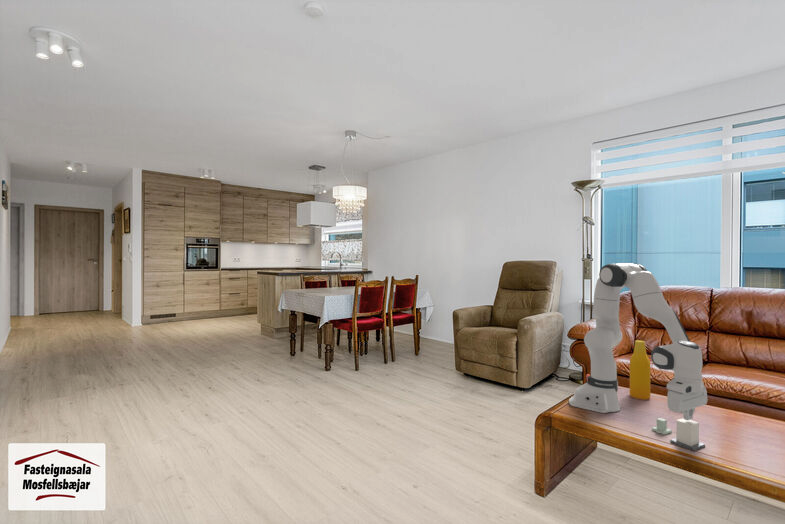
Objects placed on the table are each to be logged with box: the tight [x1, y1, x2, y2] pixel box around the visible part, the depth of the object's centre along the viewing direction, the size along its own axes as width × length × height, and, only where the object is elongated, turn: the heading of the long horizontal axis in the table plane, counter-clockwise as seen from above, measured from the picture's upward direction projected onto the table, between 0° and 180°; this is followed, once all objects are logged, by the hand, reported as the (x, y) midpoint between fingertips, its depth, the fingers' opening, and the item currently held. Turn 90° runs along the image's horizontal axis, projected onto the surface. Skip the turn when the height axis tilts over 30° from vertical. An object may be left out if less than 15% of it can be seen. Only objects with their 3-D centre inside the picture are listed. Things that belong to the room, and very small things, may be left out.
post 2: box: [670, 437, 706, 452], centre depth 155 cm, size 8×8×7 cm
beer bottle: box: [629, 339, 651, 401], centre depth 207 cm, size 9×9×29 cm
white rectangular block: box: [675, 417, 700, 446], centre depth 155 cm, size 5×5×8 cm
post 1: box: [651, 417, 672, 436], centre depth 167 cm, size 5×5×5 cm
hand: (688, 419), depth 155 cm, fingers closed
